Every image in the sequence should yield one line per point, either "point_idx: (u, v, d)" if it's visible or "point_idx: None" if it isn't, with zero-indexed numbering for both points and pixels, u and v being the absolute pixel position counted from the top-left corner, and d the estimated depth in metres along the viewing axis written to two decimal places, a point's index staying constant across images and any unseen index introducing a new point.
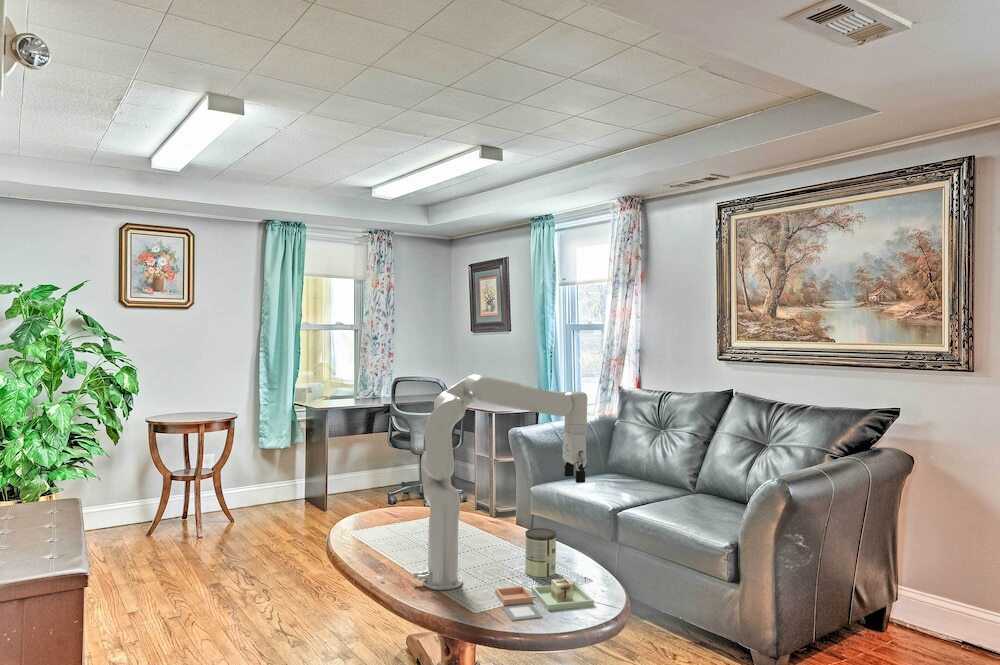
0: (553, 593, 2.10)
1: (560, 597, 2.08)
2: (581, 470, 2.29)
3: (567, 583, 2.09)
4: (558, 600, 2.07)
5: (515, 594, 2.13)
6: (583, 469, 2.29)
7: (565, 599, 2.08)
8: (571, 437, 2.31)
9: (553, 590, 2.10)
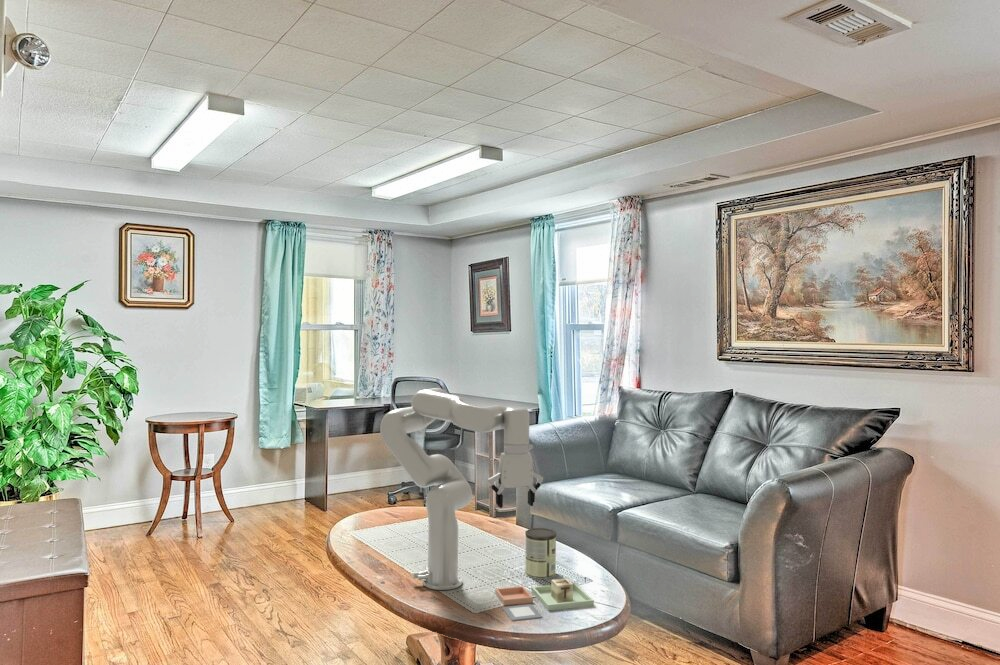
0: (553, 593, 2.10)
1: (560, 597, 2.08)
2: None
3: (567, 583, 2.09)
4: (558, 600, 2.07)
5: (515, 594, 2.13)
6: (495, 491, 2.08)
7: (565, 599, 2.08)
8: None
9: (553, 590, 2.10)
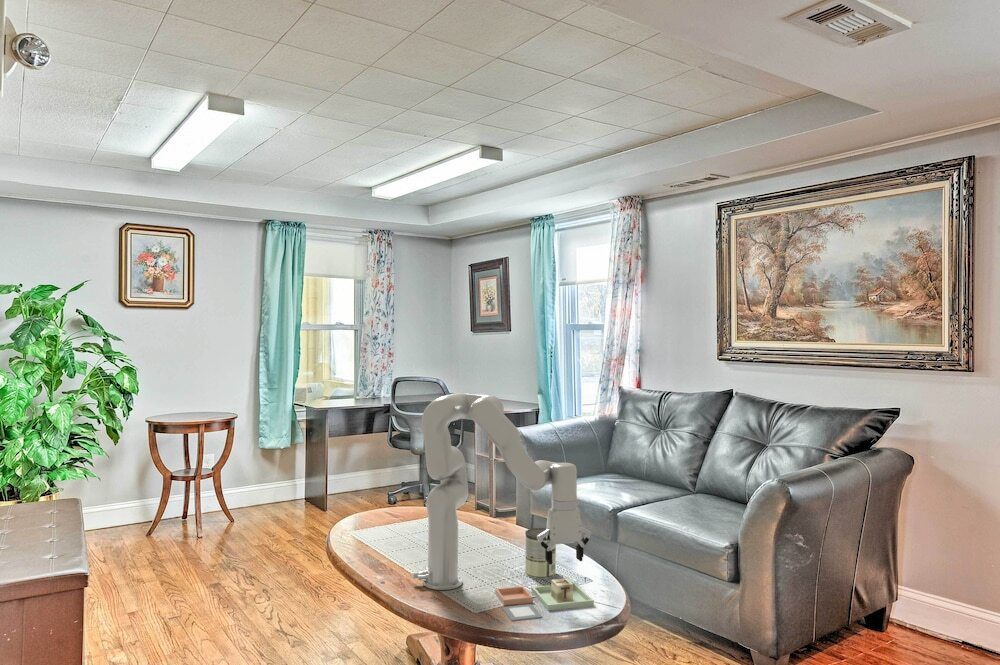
0: (553, 593, 2.10)
1: (560, 597, 2.08)
2: (545, 549, 2.09)
3: (567, 583, 2.09)
4: (558, 600, 2.07)
5: (515, 594, 2.13)
6: None
7: (565, 599, 2.08)
8: None
9: (553, 590, 2.10)
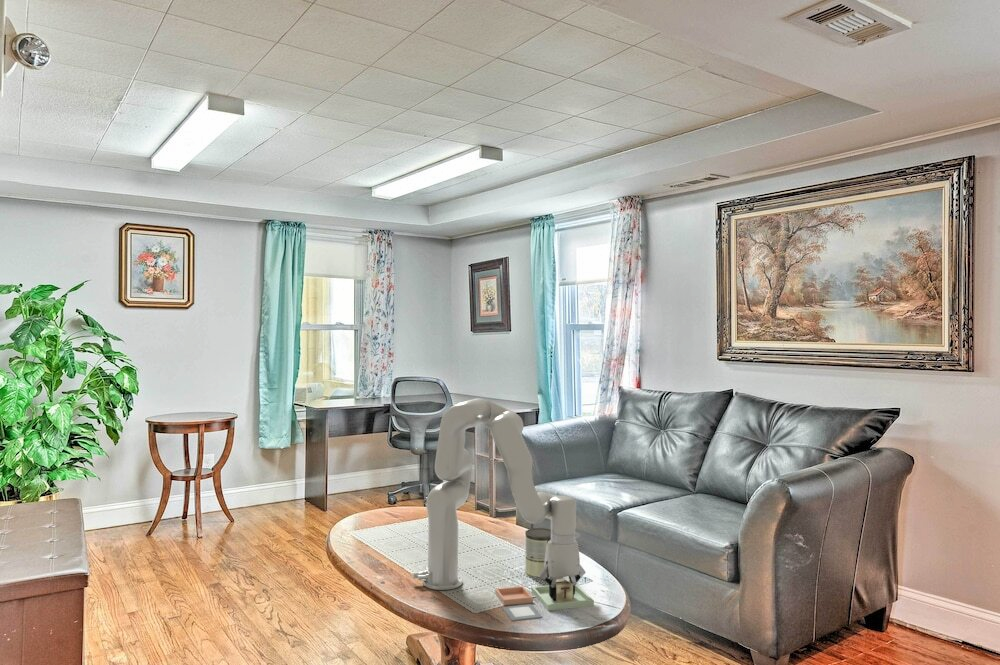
0: None
1: (560, 597, 2.08)
2: (549, 584, 2.09)
3: (567, 583, 2.09)
4: (558, 600, 2.07)
5: (515, 594, 2.13)
6: None
7: (565, 599, 2.08)
8: None
9: None
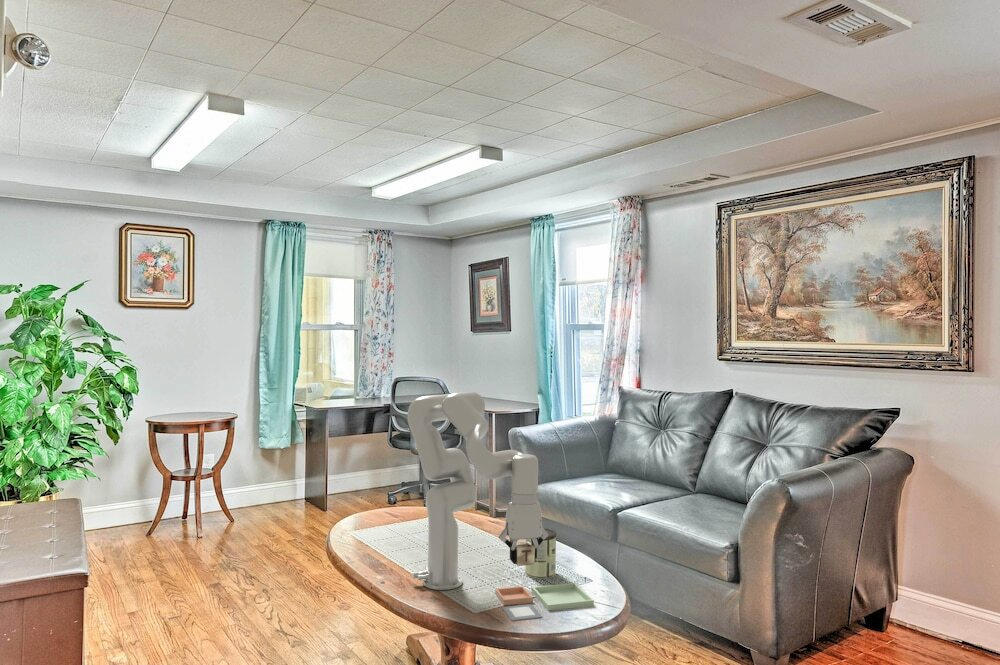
0: None
1: (521, 561, 1.97)
2: (509, 547, 1.98)
3: (529, 546, 1.98)
4: (519, 563, 1.96)
5: (515, 594, 2.13)
6: (509, 547, 1.98)
7: (526, 562, 1.97)
8: None
9: None
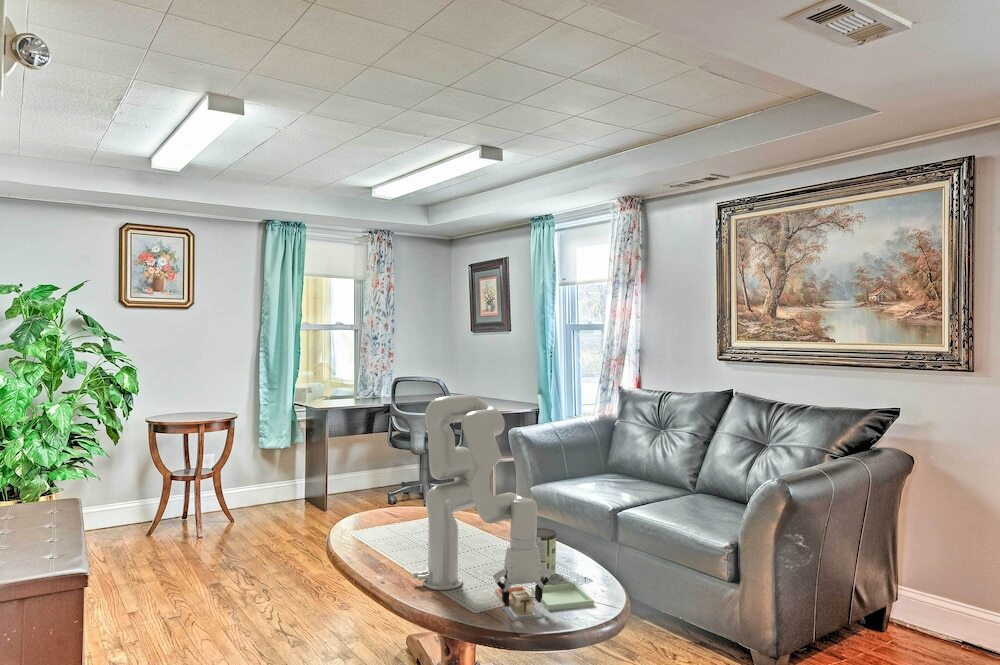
0: (513, 606, 1.99)
1: (520, 611, 1.97)
2: None
3: (528, 595, 1.98)
4: (517, 614, 1.96)
5: None
6: (501, 588, 1.97)
7: (525, 612, 1.97)
8: None
9: (513, 603, 1.99)
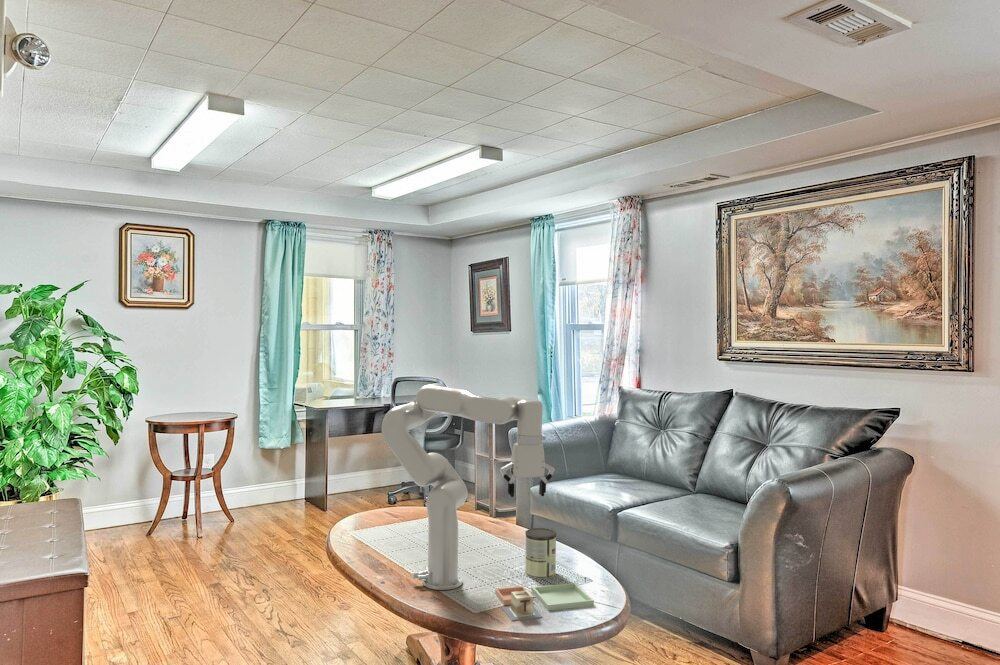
0: (513, 606, 1.99)
1: (520, 611, 1.97)
2: (507, 481, 2.13)
3: (528, 595, 1.98)
4: (517, 614, 1.96)
5: None
6: (507, 481, 2.12)
7: (525, 612, 1.97)
8: None
9: (513, 603, 1.99)
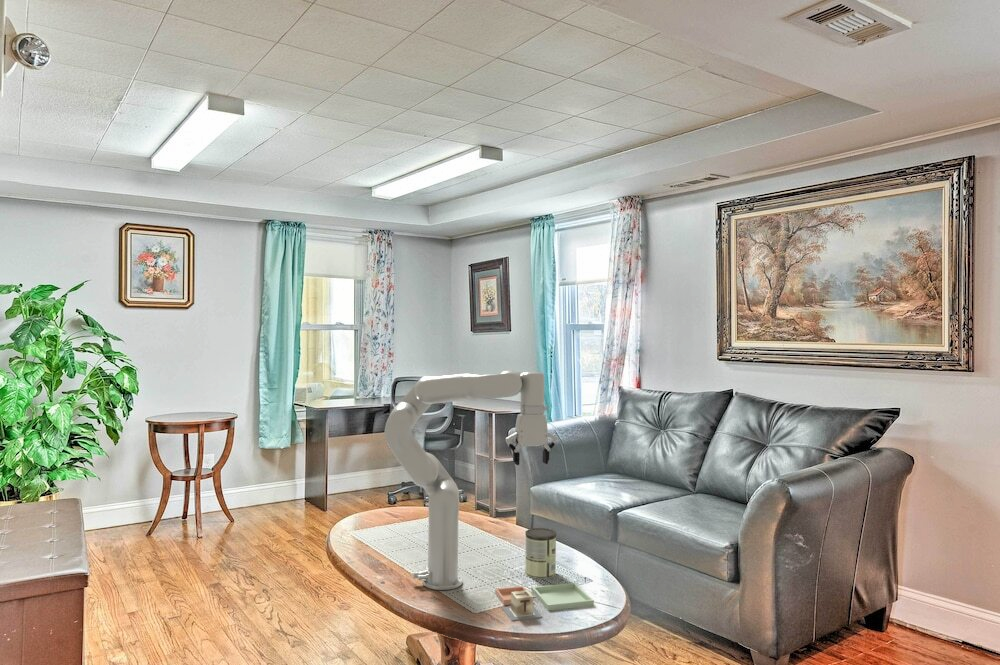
0: (513, 606, 1.99)
1: (520, 611, 1.97)
2: (512, 450, 2.22)
3: (528, 595, 1.98)
4: (517, 614, 1.96)
5: None
6: (512, 450, 2.22)
7: (525, 612, 1.97)
8: None
9: (513, 603, 1.99)
